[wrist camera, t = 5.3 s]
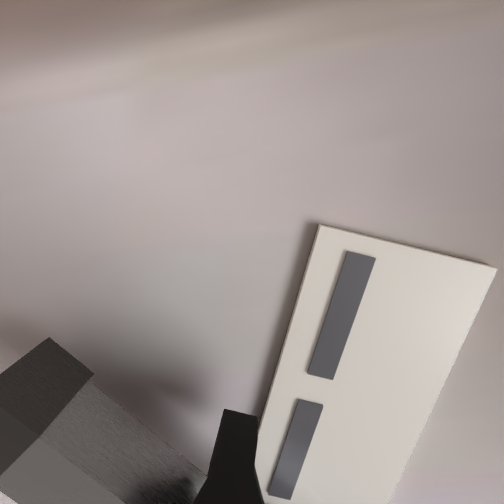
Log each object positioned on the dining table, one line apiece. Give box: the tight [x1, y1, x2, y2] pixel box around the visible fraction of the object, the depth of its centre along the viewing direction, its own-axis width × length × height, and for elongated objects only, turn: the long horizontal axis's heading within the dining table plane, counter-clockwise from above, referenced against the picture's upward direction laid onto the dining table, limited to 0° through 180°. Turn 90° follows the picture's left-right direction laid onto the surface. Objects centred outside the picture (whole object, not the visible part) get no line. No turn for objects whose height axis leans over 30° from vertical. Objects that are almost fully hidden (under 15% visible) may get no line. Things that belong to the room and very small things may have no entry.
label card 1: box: [255, 374, 429, 504], centre depth 11 cm, size 5×5×1 cm
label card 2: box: [275, 224, 498, 416], centre depth 9 cm, size 5×5×1 cm
